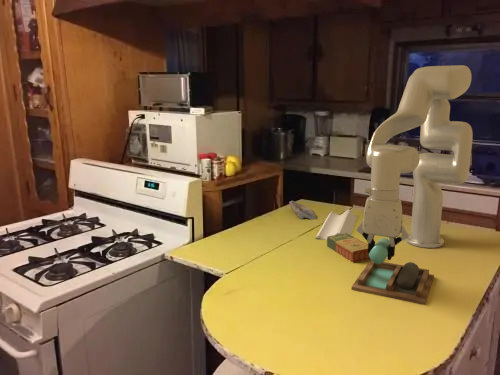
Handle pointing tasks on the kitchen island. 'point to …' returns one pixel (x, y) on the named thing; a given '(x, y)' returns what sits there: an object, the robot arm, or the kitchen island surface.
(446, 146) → the robot arm
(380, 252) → the mint green cylinder
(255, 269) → the kitchen island surface
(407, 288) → the dark gray cylinder
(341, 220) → the crown molding
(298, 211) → the stone
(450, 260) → the kitchen island surface
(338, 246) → the carton
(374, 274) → the rack
